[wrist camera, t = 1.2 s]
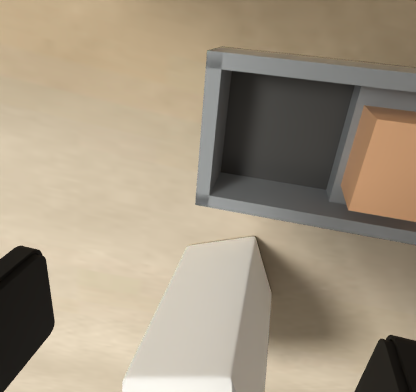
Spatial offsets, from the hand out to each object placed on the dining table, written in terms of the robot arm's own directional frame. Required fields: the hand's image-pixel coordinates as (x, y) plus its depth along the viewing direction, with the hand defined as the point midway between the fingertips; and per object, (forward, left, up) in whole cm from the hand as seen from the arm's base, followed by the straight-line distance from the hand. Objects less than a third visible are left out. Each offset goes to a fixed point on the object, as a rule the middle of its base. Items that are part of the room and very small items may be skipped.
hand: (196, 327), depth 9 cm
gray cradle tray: (0, +10, -21) cm, 23 cm away
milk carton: (+15, -1, -21) cm, 26 cm away
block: (0, +11, -18) cm, 21 cm away
